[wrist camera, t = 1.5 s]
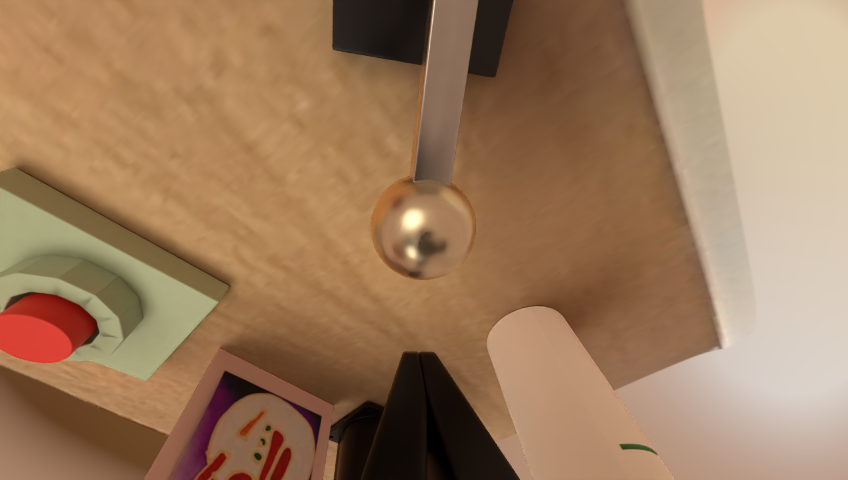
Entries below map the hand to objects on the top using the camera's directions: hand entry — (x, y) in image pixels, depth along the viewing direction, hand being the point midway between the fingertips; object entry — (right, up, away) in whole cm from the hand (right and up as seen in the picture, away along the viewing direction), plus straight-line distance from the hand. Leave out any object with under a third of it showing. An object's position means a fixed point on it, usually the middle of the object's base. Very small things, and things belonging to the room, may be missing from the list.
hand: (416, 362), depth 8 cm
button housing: (-21, 0, +12) cm, 24 cm away
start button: (-21, -1, +10) cm, 23 cm away
